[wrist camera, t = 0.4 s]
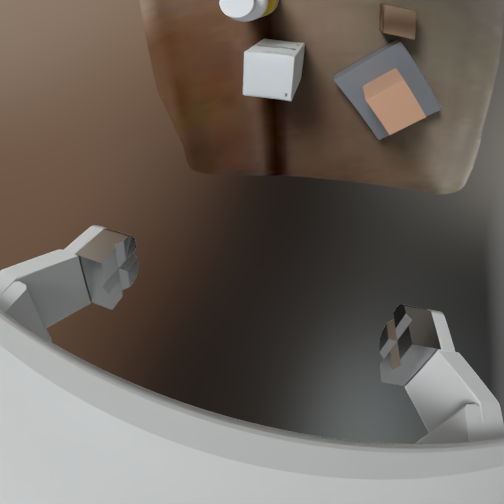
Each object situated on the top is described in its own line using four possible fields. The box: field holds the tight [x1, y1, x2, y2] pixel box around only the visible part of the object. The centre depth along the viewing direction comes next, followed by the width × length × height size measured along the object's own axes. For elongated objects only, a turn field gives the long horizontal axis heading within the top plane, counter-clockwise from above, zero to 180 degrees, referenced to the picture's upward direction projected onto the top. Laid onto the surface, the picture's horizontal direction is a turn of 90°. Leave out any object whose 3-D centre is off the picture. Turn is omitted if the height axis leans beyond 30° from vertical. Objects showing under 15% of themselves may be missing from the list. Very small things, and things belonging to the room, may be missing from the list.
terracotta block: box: [363, 68, 426, 135], centre depth 39 cm, size 7×7×7 cm
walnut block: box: [380, 3, 417, 40], centre depth 31 cm, size 5×5×5 cm
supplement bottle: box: [220, 0, 279, 21], centre depth 32 cm, size 7×7×13 cm
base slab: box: [334, 39, 441, 140], centre depth 42 cm, size 14×14×3 cm
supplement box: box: [243, 39, 305, 101], centre depth 40 cm, size 7×7×13 cm
